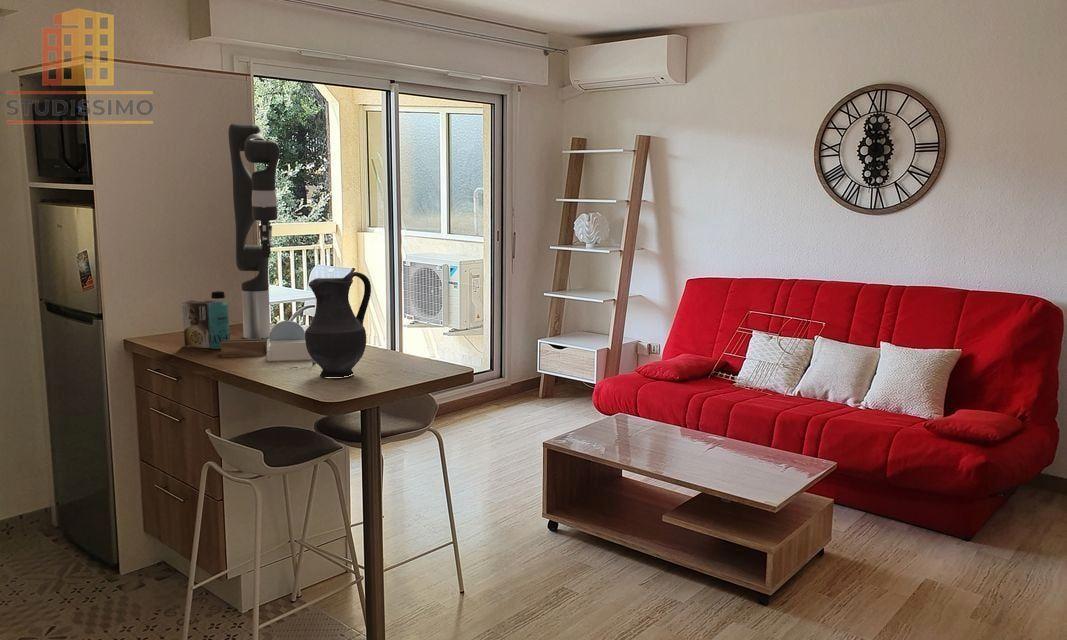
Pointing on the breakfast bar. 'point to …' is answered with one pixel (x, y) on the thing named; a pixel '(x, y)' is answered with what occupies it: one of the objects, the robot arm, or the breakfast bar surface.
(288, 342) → the rack
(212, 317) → the beverage bottle
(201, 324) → the coffee box
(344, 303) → the pitcher
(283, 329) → the plate
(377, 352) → the breakfast bar surface
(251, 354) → the stand
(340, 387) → the breakfast bar surface
